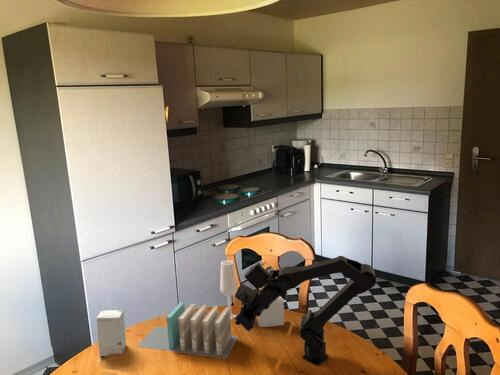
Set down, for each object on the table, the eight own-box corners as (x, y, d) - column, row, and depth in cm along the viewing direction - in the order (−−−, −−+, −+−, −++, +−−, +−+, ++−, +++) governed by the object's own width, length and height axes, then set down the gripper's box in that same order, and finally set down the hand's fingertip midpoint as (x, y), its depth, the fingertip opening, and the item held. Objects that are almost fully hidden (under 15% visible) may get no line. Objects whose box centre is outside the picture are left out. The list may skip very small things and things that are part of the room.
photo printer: (258, 330, 158) (257, 300, 155) (257, 324, 162) (256, 294, 159) (285, 327, 158) (284, 297, 156) (283, 321, 163) (282, 292, 160)
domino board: (238, 338, 152) (238, 336, 152) (226, 361, 139) (226, 358, 139) (155, 328, 162) (155, 326, 162) (136, 349, 149) (136, 346, 149)
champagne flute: (218, 319, 167) (214, 262, 162) (231, 312, 171) (228, 258, 167) (229, 325, 162) (225, 267, 157) (242, 318, 167) (239, 262, 162)
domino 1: (186, 332, 157) (184, 302, 154) (173, 348, 146) (170, 317, 144) (182, 331, 157) (180, 302, 155) (169, 348, 147) (166, 317, 144)
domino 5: (231, 337, 151) (229, 307, 149) (221, 355, 141) (219, 322, 139) (227, 337, 152) (225, 306, 150) (216, 354, 142) (214, 322, 139)
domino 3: (208, 334, 154) (206, 305, 152) (197, 351, 144) (194, 320, 141) (204, 334, 154) (202, 304, 152) (192, 351, 144) (190, 319, 142)
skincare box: (99, 357, 145) (94, 318, 142) (104, 347, 151) (100, 310, 148) (123, 356, 145) (119, 317, 142) (128, 346, 151) (123, 308, 148)
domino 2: (197, 333, 155) (195, 303, 153) (185, 350, 145) (182, 318, 143) (193, 333, 156) (191, 303, 153) (180, 349, 145) (178, 318, 143)
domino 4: (220, 336, 153) (218, 306, 150) (209, 353, 142) (206, 321, 140) (216, 335, 153) (213, 305, 151) (204, 352, 143) (202, 321, 140)
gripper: (256, 268, 147) (228, 294, 153) (240, 291, 130) (209, 320, 135) (278, 291, 147) (249, 316, 152) (265, 317, 129) (234, 344, 134)
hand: (236, 323), depth 143 cm, fingers closed
